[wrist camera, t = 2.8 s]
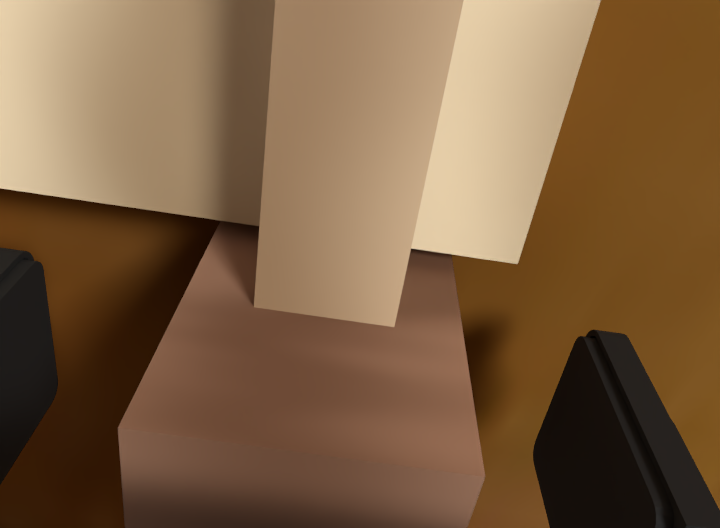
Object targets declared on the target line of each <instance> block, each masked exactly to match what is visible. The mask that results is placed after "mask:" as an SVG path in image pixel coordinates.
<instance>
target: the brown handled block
mask: <svg viewBox="0 0 720 528" xmlns="http://www.w3.org/2000/svg"><path fill="white" fill-rule="evenodd" d="M463 1H464V0H275V12H274V26H273V40H272V55H271V69H270V83H269V97H268V112H267V126H266V140H265V154H264V168H263V183H262V197H261V211H260V225H259V226H254V225H247V224H241V223H234V222H227V221H220V223H219V225H218V227H217V229H216V231H215V233H214V235H213V237H212V239H211V241H210V243H209V245H208V247H207V249H206V251H205V253H204V255H203V257H202V259H201V261H200V263H199V265H198V267H197V269H196V271H195V273H194V275H193V277H192V279H191V281H190V283H189V285H188V287H187V289H186V291H185V293H184V295H183V297H182V299H181V301H180V303H179V305H178V307H177V309H176V311H175V313H174V315H173V318H172V320H171V322H170V324H169V326H168V328H167V330H166V332H165V334H164V336H163V338H162V340H161V342H160V344H159V346H158V348H157V350H156V352H155V354H154V356H153V358H152V360H151V362H150V364H149V366H148V368H147V370H146V372H145V374H144V376H143V378H142V380H141V382H140V384H139V386H138V388H137V390H136V392H135V394H134V396H133V398H132V400H131V402H130V404H129V406H128V408H127V410H126V412H125V414H124V416H123V418H122V420H121V422H120V424H119V426H118V438H119V452H120V466H121V480H122V494H123V508H124V522H125V528H467V527H468V524H469V521H470V518H471V515H472V513H473V510H474V507H475V504H476V501H477V499H478V496H479V493H480V490H481V487H482V485H483V482H484V479H485V473H484V466H483V459H482V453H481V446H480V440H479V433H478V427H477V420H476V414H475V407H474V400H473V394H472V387H471V381H470V374H469V368H468V361H467V355H466V348H465V341H464V335H463V328H462V322H461V315H460V309H459V302H458V296H457V289H456V282H455V276H454V269H453V263H452V256H451V254H446V253H439V252H432V251H425V250H418V249H412V248H411V246H412V242H413V237H414V232H415V227H416V223H417V218H418V213H419V208H420V204H421V199H422V194H423V190H424V185H425V180H426V175H427V171H428V166H429V161H430V157H431V152H432V147H433V142H434V138H435V133H436V128H437V124H438V119H439V114H440V109H441V105H442V100H443V95H444V91H445V86H446V81H447V76H448V72H449V67H450V62H451V58H452V53H453V48H454V43H455V39H456V34H457V29H458V25H459V20H460V15H461V10H462V6H463Z"/></svg>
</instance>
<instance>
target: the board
mask: <svg viewBox="0 0 720 528" xmlns="http://www.w3.org/2000/svg"><path fill="white" fill-rule="evenodd" d="M600 1H601V0H464V1H463V6H462V10H461V15H460V20H459V25H458V29H457V34H456V39H455V43H454V48H453V53H452V58H451V62H450V67H449V72H448V76H447V81H446V86H445V91H444V95H443V100H442V105H441V109H440V114H439V119H438V124H437V128H436V133H435V138H434V142H433V147H432V152H431V157H430V161H429V166H428V171H427V175H426V180H425V185H424V190H423V194H422V199H421V204H420V208H419V213H418V218H417V223H416V227H415V232H414V237H413V242H412V246H411V248H412V249H418V250H425V251H432V252H439V253H446V254H453V255H459V256H466V257H473V258H480V259H487V260H494V261H500V262H507V263H514V264H518V261H519V258H520V255H521V252H522V249H523V245H524V242H525V239H526V236H527V233H528V230H529V226H530V223H531V220H532V217H533V214H534V211H535V207H536V204H537V201H538V198H539V195H540V192H541V188H542V185H543V182H544V179H545V176H546V172H547V169H548V166H549V163H550V160H551V157H552V153H553V150H554V147H555V144H556V141H557V138H558V134H559V131H560V128H561V125H562V122H563V119H564V115H565V112H566V109H567V106H568V103H569V99H570V96H571V93H572V90H573V87H574V84H575V80H576V77H577V74H578V71H579V68H580V65H581V61H582V58H583V55H584V52H585V49H586V46H587V42H588V39H589V36H590V33H591V30H592V27H593V23H594V20H595V17H596V14H597V11H598V7H599V4H600ZM274 12H275V0H0V188H1V189H8V190H15V191H22V192H29V193H36V194H42V195H49V196H56V197H63V198H70V199H77V200H83V201H90V202H97V203H104V204H111V205H118V206H124V207H131V208H138V209H145V210H152V211H159V212H165V213H172V214H179V215H186V216H193V217H200V218H206V219H213V220H220V221H227V222H234V223H241V224H247V225H254V226H259V225H260V211H261V197H262V183H263V168H264V154H265V140H266V126H267V112H268V97H269V83H270V69H271V55H272V40H273V26H274Z"/></svg>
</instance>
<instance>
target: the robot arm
mask: <svg viewBox="0 0 720 528" xmlns="http://www.w3.org/2000/svg"><path fill="white" fill-rule="evenodd" d="M57 386H58V378H57V370H56V362H55V355H54V347H53V339H52V331H51V324H50V316H49V308H48V301H47V293H46V285H45V277H44V270H43V266H42V264H41V263H40V262H38V261H34V259H33V257H32V255H31V253H29V252H27V251H20V250H13V249H6V248H0V484H1V483H2V481H3V480H4V478H5V476H6V475H7V473H8V472H9V470H10V468H11V467H12V465H13V464H14V462H15V460H16V459H17V457H18V456H19V454H20V453H21V451H22V449H23V448H24V446H25V445H26V443H27V441H28V440H29V438H30V437H31V435H32V434H33V432H34V430H35V429H36V427H37V426H38V424H39V422H40V421H41V419H42V418H43V416H44V415H45V413H46V411H47V410H48V408H49V407H50V405H51V403H52V402H53V400H54V398H55V395H56V391H57ZM533 460H534V466H535V470H536V474H537V478H538V481H539V485H540V489H541V493H542V497H543V501H544V505H545V509H546V513H547V517H548V521H549V525H550V528H720V510H719V508H718V506H717V504H716V503H715V501H714V499H713V497H712V495H711V493H710V491H709V489H708V487H707V485H706V483H705V481H704V480H703V478H702V476H701V474H700V472H699V470H698V468H697V466H696V464H695V462H694V460H693V459H692V457H691V455H690V453H689V451H688V449H687V447H686V445H685V443H684V441H683V439H682V438H681V436H680V434H679V432H678V430H677V428H676V426H675V424H674V423H673V421H672V420H671V419H670V417H669V415H668V413H667V411H666V409H665V407H664V405H663V404H662V402H661V400H660V398H659V396H658V394H657V392H656V390H655V388H654V386H653V384H652V382H651V381H650V379H649V377H648V375H647V373H646V371H645V369H644V367H643V365H642V363H641V361H640V359H639V357H638V356H637V354H636V352H635V350H634V348H633V346H632V344H631V342H630V340H629V338H628V337H627V336H626V335H624V334H621V333H613V332H606V331H599V330H591V331H590V332H589V333H588V334H587V335H586V337H583V336H580V337H578V338H577V339H576V341H575V343H574V346H573V348H572V351H571V353H570V356H569V358H568V361H567V363H566V366H565V368H564V371H563V373H562V376H561V378H560V381H559V383H558V386H557V388H556V391H555V393H554V396H553V399H552V401H551V404H550V406H549V409H548V411H547V414H546V416H545V419H544V421H543V424H542V426H541V429H540V431H539V434H538V436H537V439H536V441H535V445H534V451H533Z"/></svg>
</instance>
